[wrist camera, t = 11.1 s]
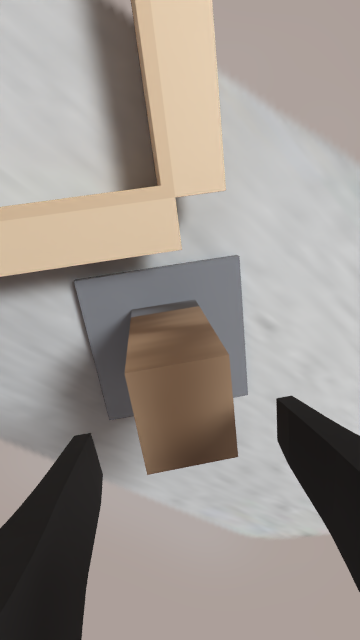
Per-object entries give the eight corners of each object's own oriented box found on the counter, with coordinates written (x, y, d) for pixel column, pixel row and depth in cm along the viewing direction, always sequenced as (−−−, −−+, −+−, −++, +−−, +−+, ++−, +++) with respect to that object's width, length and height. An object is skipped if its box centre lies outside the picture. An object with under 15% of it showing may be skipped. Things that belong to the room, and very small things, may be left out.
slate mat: (110, 415, 22) (109, 420, 21) (75, 279, 18) (73, 281, 18) (245, 391, 22) (248, 394, 22) (237, 254, 19) (239, 256, 18)
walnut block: (145, 379, 20) (147, 474, 13) (131, 309, 19) (124, 373, 11) (203, 368, 21) (238, 456, 13) (195, 299, 19) (229, 354, 12)
